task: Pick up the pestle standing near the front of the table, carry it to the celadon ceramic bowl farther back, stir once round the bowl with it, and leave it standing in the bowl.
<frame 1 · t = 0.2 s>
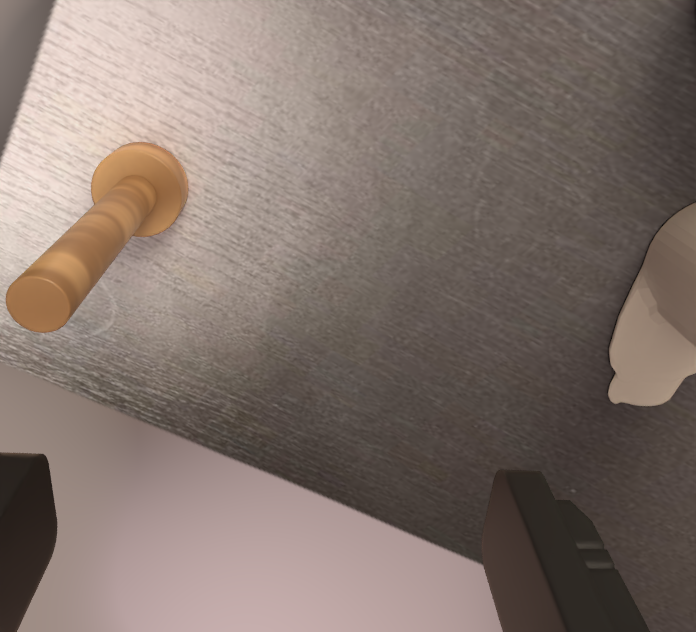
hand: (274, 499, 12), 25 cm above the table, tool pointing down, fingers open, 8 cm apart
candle: (679, 308, 39), on the table
pestle: (145, 184, 35), on the table
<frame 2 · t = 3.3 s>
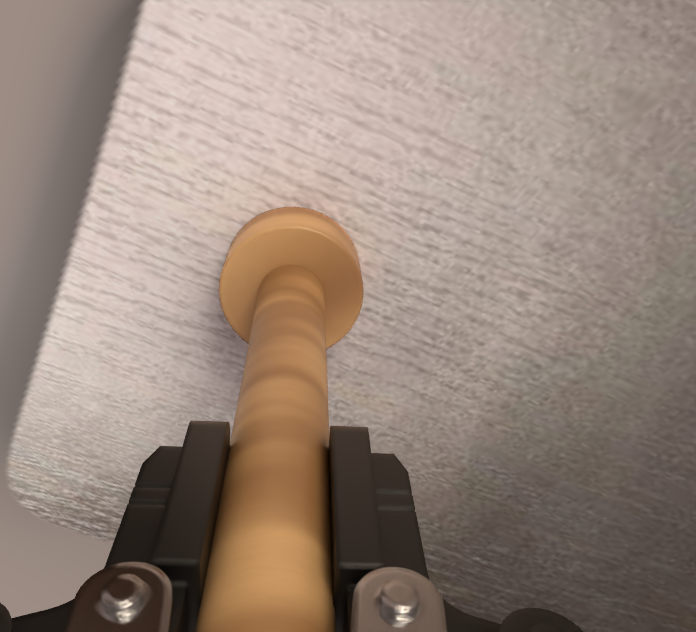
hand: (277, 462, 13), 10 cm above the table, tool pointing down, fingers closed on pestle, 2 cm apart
pestle: (293, 270, 22), on the table, touching gripper
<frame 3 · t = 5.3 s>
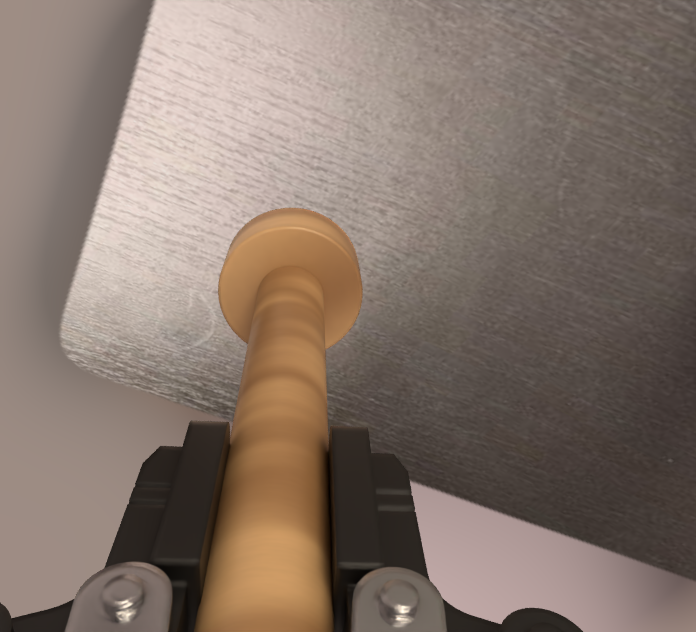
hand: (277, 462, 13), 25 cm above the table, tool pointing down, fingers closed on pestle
pestle: (292, 271, 22), point 15 cm above the table, touching gripper
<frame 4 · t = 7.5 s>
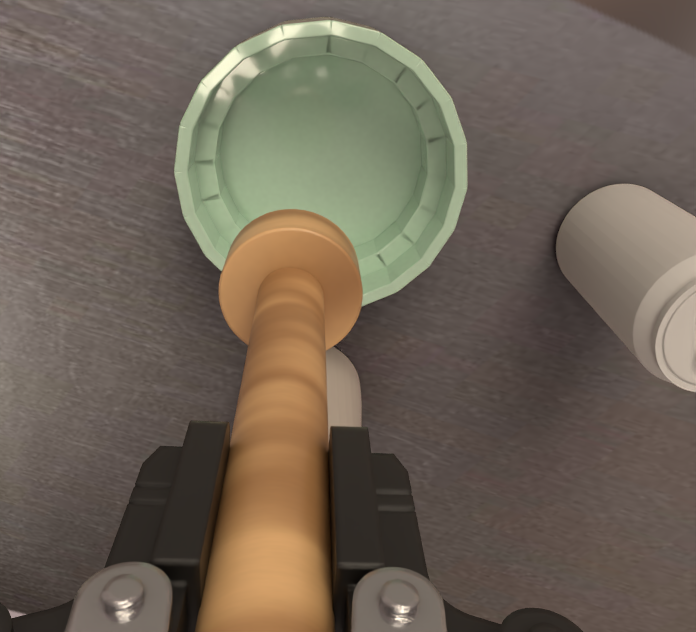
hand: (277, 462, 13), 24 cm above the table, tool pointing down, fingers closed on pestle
bowl: (321, 156, 35), on the table
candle: (296, 432, 42), on the table
pestle: (292, 272, 22), point 14 cm above the table, touching gripper
beverage can: (605, 234, 38), on the table
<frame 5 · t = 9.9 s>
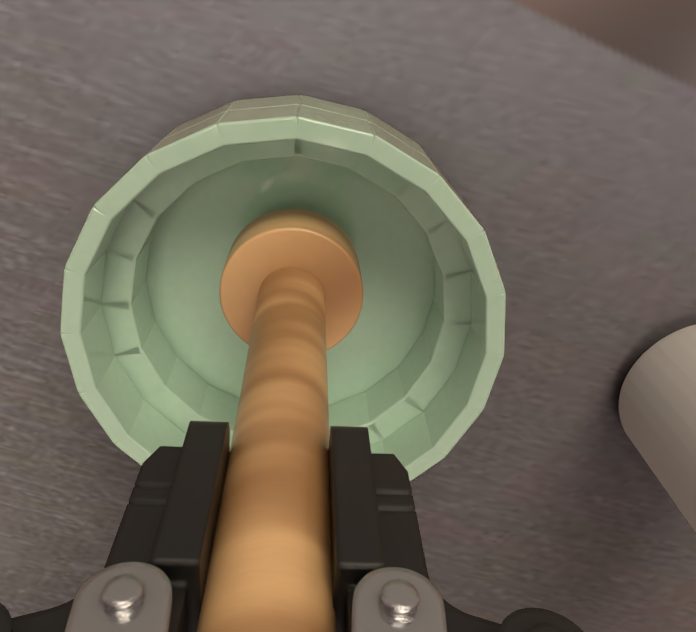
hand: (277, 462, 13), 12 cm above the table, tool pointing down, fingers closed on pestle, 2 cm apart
bowl: (292, 281, 24), on the table
pestle: (293, 272, 22), point 2 cm above the table, touching gripper
beverage can: (685, 381, 27), on the table
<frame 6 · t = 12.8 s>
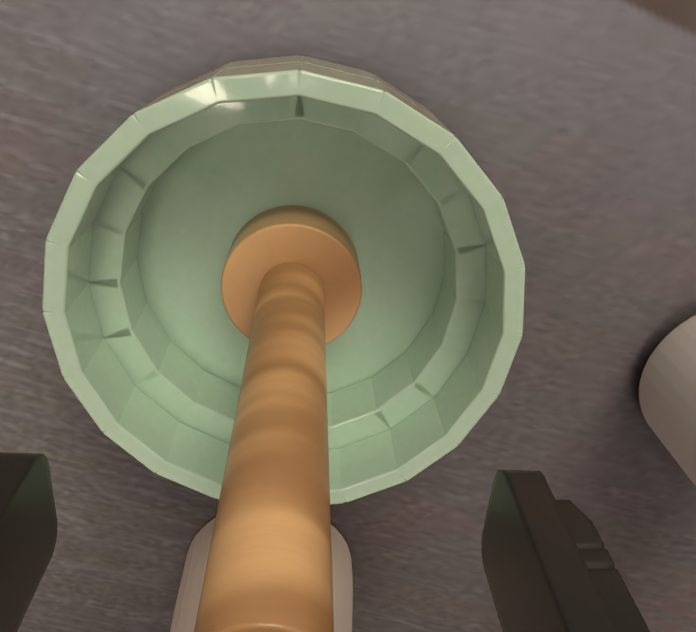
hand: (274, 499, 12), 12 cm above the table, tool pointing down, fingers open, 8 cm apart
bowl: (293, 259, 23), on the table
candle: (263, 615, 31), on the table
pestle: (293, 268, 22), point 1 cm above the table, touching bowl
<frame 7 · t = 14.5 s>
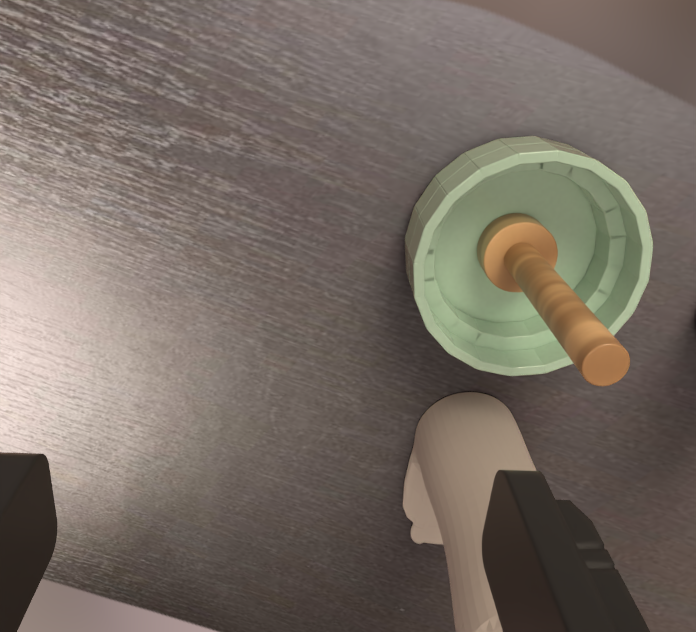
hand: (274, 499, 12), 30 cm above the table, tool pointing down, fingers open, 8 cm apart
bowl: (509, 243, 41), on the table
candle: (454, 471, 49), on the table
pestle: (512, 247, 41), point 1 cm above the table, touching bowl
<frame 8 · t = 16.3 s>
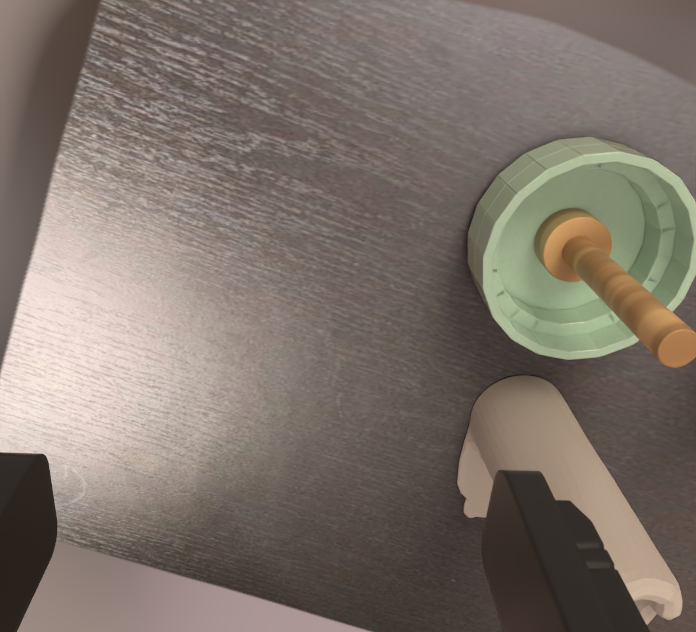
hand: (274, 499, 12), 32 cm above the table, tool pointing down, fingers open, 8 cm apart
bowl: (563, 236, 44), on the table
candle: (505, 449, 52), on the table
pestle: (567, 240, 44), point 1 cm above the table, touching bowl
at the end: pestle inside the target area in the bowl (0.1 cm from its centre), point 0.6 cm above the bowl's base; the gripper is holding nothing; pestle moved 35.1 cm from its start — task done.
